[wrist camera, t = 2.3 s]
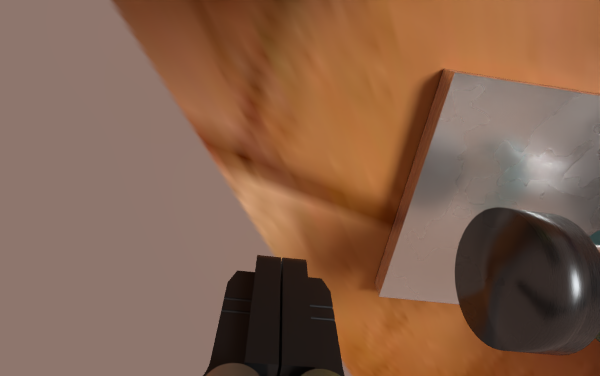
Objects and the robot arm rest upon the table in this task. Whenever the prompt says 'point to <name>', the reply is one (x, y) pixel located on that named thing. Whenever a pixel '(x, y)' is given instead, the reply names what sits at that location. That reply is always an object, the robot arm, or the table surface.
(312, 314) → the robot arm
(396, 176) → the table surface
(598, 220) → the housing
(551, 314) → the shaft
